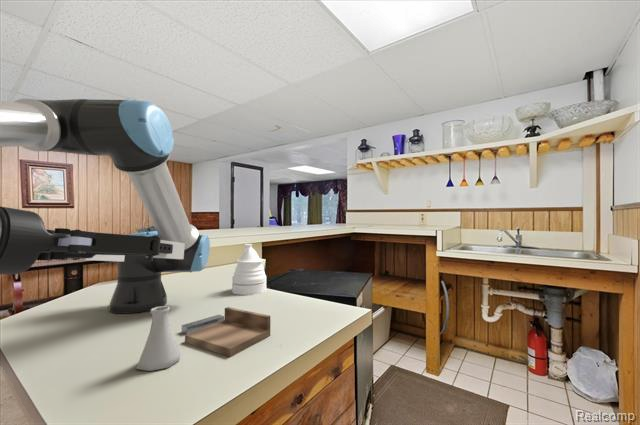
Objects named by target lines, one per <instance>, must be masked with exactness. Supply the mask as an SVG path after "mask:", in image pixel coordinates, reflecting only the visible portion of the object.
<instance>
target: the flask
mask: <svg viewBox="0 0 640 425" xmlns="http://www.w3.org/2000/svg"><path fill="white" fill-rule="evenodd" d="M170 307H171V306H169V305H164V306H161V307H155V308H152V309H151V310H149V311H150V314H151V316H152V317H151V324H150V330H149V333H148V336H147V338H146V339H147V340H146V342H145V345H144V347H143V350H142V352H141V355H140V357H139V360H138V363H137V366H136V367H135V368H136V369H135V370H141V371H149V372H151V371H156V370H162V369H167V368H170V367H171V366H173V365H174V364H176V363H178V362H179V361H180V358H181V351H180V349H179V347H178V344H177V342H176V339H175V336H174V335H173V331H172V329H171V327H170V326H171V325H170V321H169V312H170Z"/></svg>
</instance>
